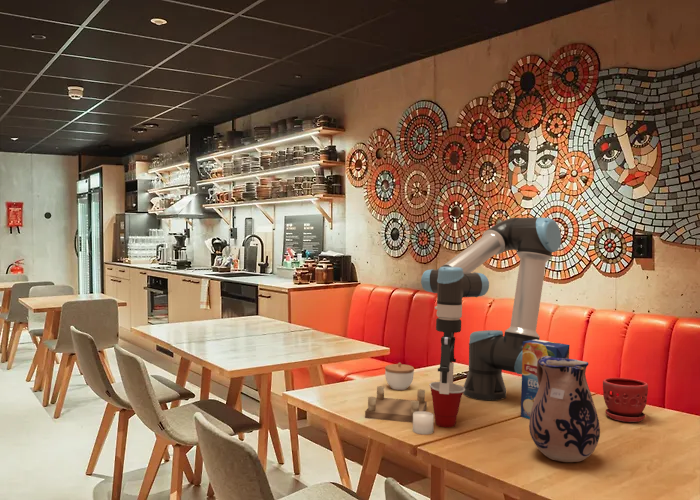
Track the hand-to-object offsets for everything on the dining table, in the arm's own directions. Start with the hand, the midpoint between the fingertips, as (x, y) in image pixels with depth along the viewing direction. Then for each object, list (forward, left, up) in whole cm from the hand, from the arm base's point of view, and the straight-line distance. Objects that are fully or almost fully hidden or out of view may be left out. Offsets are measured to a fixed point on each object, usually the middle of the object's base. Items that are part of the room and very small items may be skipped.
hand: (446, 388), depth 185 cm
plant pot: (-54, -24, -11) cm, 60 cm away
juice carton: (-29, -15, -11) cm, 35 cm away
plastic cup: (0, 0, -11) cm, 11 cm away
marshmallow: (+6, +8, -11) cm, 15 cm away
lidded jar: (+21, -38, -11) cm, 45 cm away
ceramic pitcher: (-31, +16, -11) cm, 37 cm away
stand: (+16, -8, -11) cm, 21 cm away
